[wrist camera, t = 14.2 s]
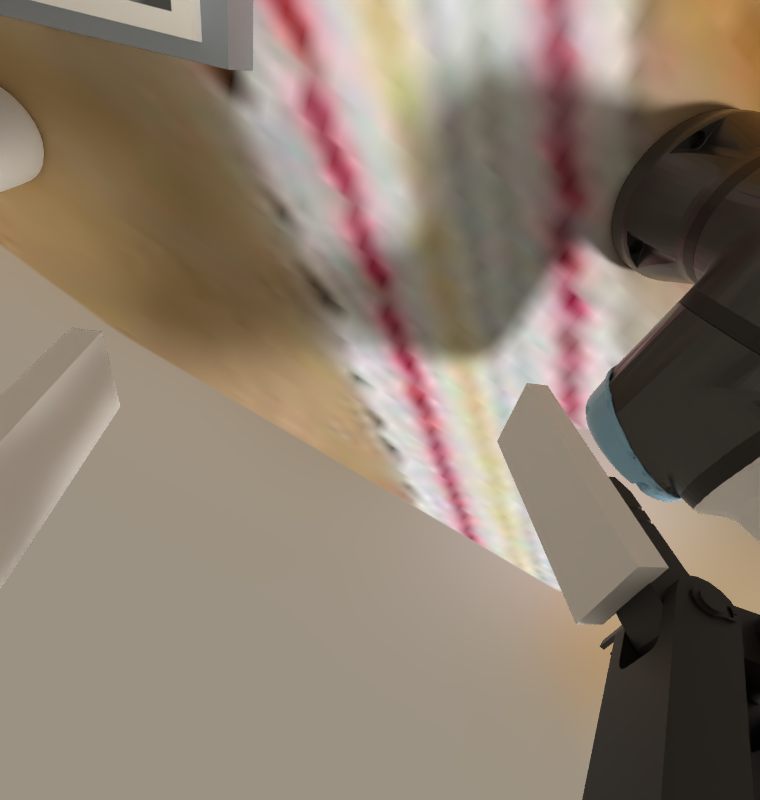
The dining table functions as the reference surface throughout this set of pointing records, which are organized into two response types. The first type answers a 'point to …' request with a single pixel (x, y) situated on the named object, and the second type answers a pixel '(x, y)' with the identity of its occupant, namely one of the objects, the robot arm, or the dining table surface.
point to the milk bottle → (18, 144)
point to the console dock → (154, 25)
